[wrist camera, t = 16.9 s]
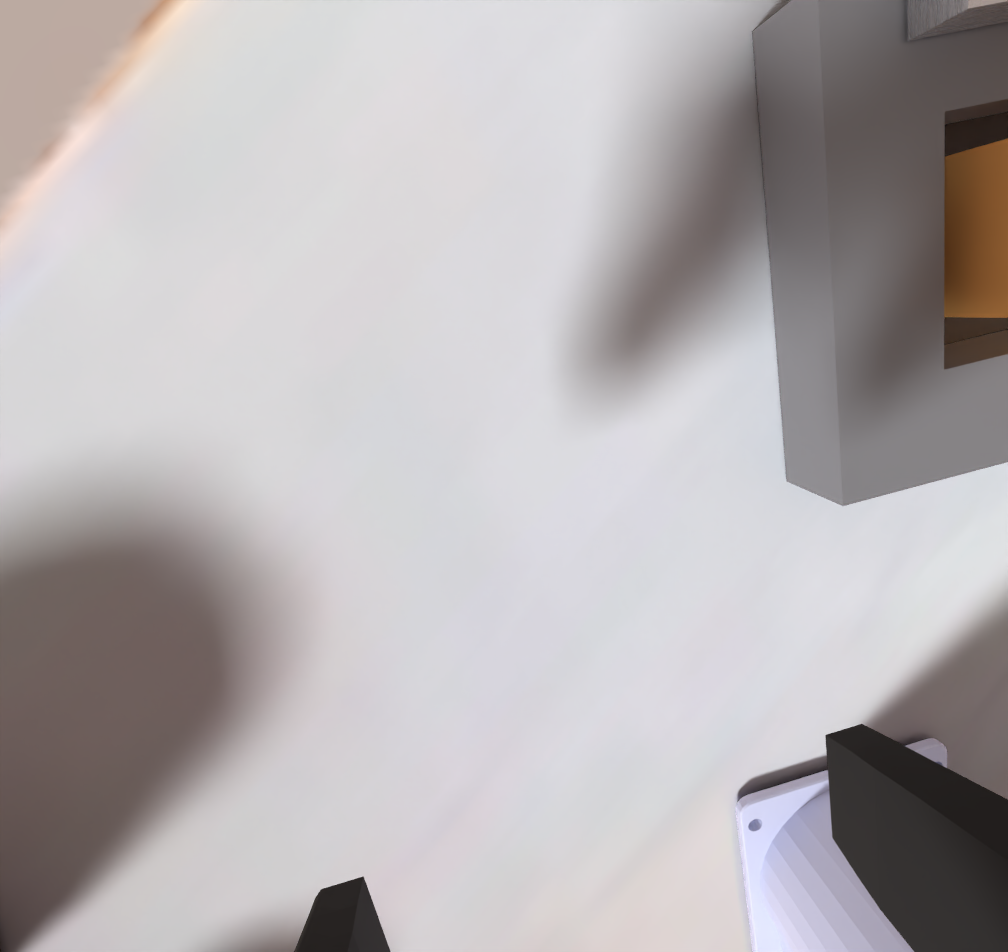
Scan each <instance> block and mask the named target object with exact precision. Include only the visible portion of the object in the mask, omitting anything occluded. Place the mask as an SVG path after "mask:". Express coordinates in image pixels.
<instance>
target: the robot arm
mask: <svg viewBox="0 0 1008 952" xmlns="http://www.w3.org/2000/svg"><path fill="white" fill-rule="evenodd" d="M826 748H827V764H828V770H825V771H822V772H819V773H816V774H812V775H809V776H806V777H803V778H800V779H796V780H793V781H790V782H787V783H784V784H780V785H777V786H774V787H771V788H767V789H764V790H761V791H758V792H755V793H751V794H748V795H746V796H744V797H742V798H741V799H740V800H739V801H738V803H737V805H736V810H735V811H736V819H737V827H738V835H739V844H740V852H741V860H742V868H743V876H744V885H745V893H746V901H747V909H748V917H749V926H750V934H751V942H752V950H753V952H1008V800H1007V799H1005V798H1003V797H1002V796H1000V795H998V794H996V793H994V792H992V791H990V790H988V789H986V788H984V787H982V786H980V785H978V784H976V783H974V782H972V781H970V780H969V779H967V778H965V777H963V776H961V775H959V774H957V773H955V772H953V771H951V770H949V769H947V748H946V747H945V746H944V745H943V744H942V743H941V742H940V741H938V740H937V739H934V738H929V739H925V740H921V741H918V742H915V743H912V744H909V745H905V746H904V745H902V744H900V743H898V742H896V741H894V740H892V739H890V738H888V737H886V736H885V735H883V734H881V733H879V732H877V731H875V730H873V729H871V728H869V727H867V726H865V725H863V724H860V725H857V726H854V727H850V728H847V729H844V730H841V731H837V732H834V733H831V734H828V735H826ZM752 820H753V821H752ZM294 952H390V949H389V946H388V944H387V941H386V938H385V935H384V933H383V930H382V927H381V924H380V921H379V919H378V916H377V913H376V910H375V907H374V905H373V902H372V899H371V896H370V893H369V891H368V888H367V885H366V882H365V880H364V877H360V878H357V879H354V880H350V881H347V882H344V883H341V884H337V885H334V886H331V887H328V888H324V889H321V890H320V892H319V893H318V895H317V896H316V898H315V901H314V903H313V906H312V908H311V911H310V913H309V916H308V919H307V921H306V924H305V926H304V929H303V931H302V934H301V936H300V939H299V941H298V944H297V946H296V949H295V951H294Z"/></svg>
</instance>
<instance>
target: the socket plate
mask: <svg viewBox="0 0 1008 952" xmlns="http://www.w3.org/2000/svg"><path fill="white" fill-rule="evenodd" d="M752 35H753V48H754V61H755V74H756V87H757V100H758V113H759V126H760V139H761V152H762V165H763V179H764V192H765V205H766V218H767V231H768V244H769V257H770V270H771V283H772V296H773V309H774V322H775V336H776V349H777V362H778V375H779V388H780V401H781V414H782V427H783V440H784V453H785V466H786V479H787V482H790V483H792V484H794V485H796V486H799V487H801V488H803V489H806V490H808V491H810V492H812V493H815V494H817V495H819V496H821V497H824V498H826V499H828V500H831V501H833V502H835V503H837V504H840V505H842V506H845V505H848V504H852V503H856V502H860V501H863V500H867V499H871V498H875V497H878V496H882V495H886V494H890V493H893V492H897V491H901V490H904V489H908V488H912V487H916V486H919V485H923V484H927V483H931V482H934V481H938V480H942V479H946V478H949V477H953V476H957V475H961V474H964V473H968V472H972V471H976V470H979V469H983V468H987V467H991V466H994V465H998V464H1002V463H1006V462H1008V329H1007V330H1003V331H999V332H995V333H991V334H987V335H983V336H978V337H974V338H970V339H966V340H962V341H958V342H954V343H950V344H946V345H944V188H945V124H950V123H955V122H960V121H965V120H970V119H974V118H979V117H984V116H989V115H994V114H999V113H1004V112H1008V22H1006V23H1000V24H995V25H990V26H984V27H979V28H974V29H968V30H963V31H958V32H953V33H947V34H942V35H937V36H931V37H926V38H921V39H915V40H910V41H908V24H907V0H791V1H790V2H789V3H787V4H786V5H785V6H784V7H782V8H781V9H780V10H779V11H777V12H776V13H775V14H774V15H772V16H771V17H770V18H769V19H767V20H766V21H765V22H764V23H762V24H761V25H760V26H759V27H757V28H756V29H755V30H754V31H752Z"/></svg>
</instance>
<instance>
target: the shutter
mask: <svg viewBox="0 0 1008 952" xmlns="http://www.w3.org/2000/svg"><path fill="white" fill-rule="evenodd" d="M1006 22H1008V0H907V24H908V41H910V40H915V39H921V38H926V37H931V36H937V35H942V34H947V33H953V32H958V31H963V30H968V29H974V28H979V27H984V26H990V25H995V24H1000V23H1006Z"/></svg>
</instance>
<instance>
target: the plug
mask: <svg viewBox="0 0 1008 952" xmlns="http://www.w3.org/2000/svg"><path fill="white" fill-rule="evenodd" d="M944 317H971V318H1008V138H1007V139H1004V140H1000V141H997V142H993V143H990V144H986V145H983V146H979V147H976V148H973V149H969V150H966V151H962V152H959V153H955V154H952V155H948V156H945V188H944Z"/></svg>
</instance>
